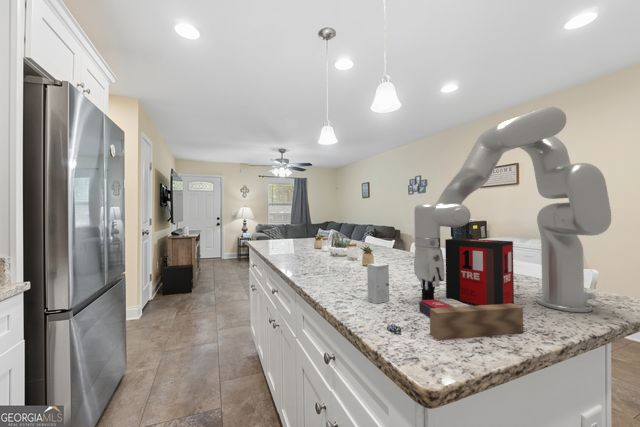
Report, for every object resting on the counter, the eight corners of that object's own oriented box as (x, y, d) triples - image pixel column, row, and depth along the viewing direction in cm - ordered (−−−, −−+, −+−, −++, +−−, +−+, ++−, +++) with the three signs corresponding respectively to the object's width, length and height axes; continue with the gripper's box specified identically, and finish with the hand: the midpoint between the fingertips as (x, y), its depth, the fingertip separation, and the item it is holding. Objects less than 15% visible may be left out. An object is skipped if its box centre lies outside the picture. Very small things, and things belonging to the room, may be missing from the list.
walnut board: (512, 327, 65) (511, 303, 65) (523, 332, 62) (522, 307, 62) (430, 334, 62) (429, 308, 62) (437, 340, 59) (437, 313, 59)
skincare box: (376, 304, 83) (376, 266, 83) (366, 300, 87) (366, 264, 87) (390, 300, 86) (389, 264, 87) (379, 297, 90) (379, 262, 90)
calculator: (452, 297, 79) (491, 312, 65) (452, 311, 79) (492, 330, 64) (418, 299, 78) (450, 315, 63) (418, 313, 78) (451, 333, 63)
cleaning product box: (446, 299, 88) (445, 239, 89) (458, 294, 94) (458, 238, 94) (502, 313, 75) (501, 243, 75) (513, 306, 80) (512, 241, 81)
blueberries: (402, 326, 69) (401, 318, 69) (418, 337, 61) (417, 328, 61) (377, 328, 68) (377, 320, 68) (390, 340, 60) (390, 331, 60)
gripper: (453, 245, 76) (454, 309, 76) (425, 241, 91) (425, 294, 91) (429, 246, 75) (430, 310, 75) (404, 241, 90) (405, 295, 89)
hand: (427, 301), depth 83 cm, fingers closed
